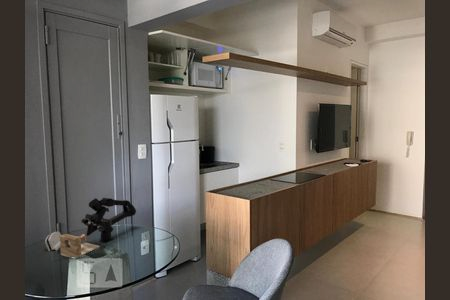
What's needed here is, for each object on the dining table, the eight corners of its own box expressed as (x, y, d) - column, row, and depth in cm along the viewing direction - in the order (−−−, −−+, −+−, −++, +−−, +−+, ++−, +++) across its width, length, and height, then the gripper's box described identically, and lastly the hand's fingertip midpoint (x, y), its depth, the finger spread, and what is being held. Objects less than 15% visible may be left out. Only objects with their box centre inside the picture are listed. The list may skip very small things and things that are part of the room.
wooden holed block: (81, 240, 216) (80, 232, 216) (86, 241, 214) (86, 234, 213) (66, 246, 207) (65, 238, 206) (71, 248, 204) (71, 240, 204)
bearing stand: (85, 244, 224) (83, 226, 223) (99, 248, 218) (98, 229, 216) (61, 255, 209) (59, 235, 207) (76, 259, 202) (74, 239, 201)
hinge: (56, 250, 216) (49, 237, 214) (49, 253, 215) (42, 239, 214) (66, 240, 232) (60, 228, 231) (59, 243, 232) (53, 230, 231)
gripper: (82, 207, 224) (69, 228, 216) (102, 210, 215) (89, 232, 207) (92, 215, 232) (80, 235, 224) (112, 218, 223) (100, 240, 215)
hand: (87, 235), depth 217 cm, fingers closed
